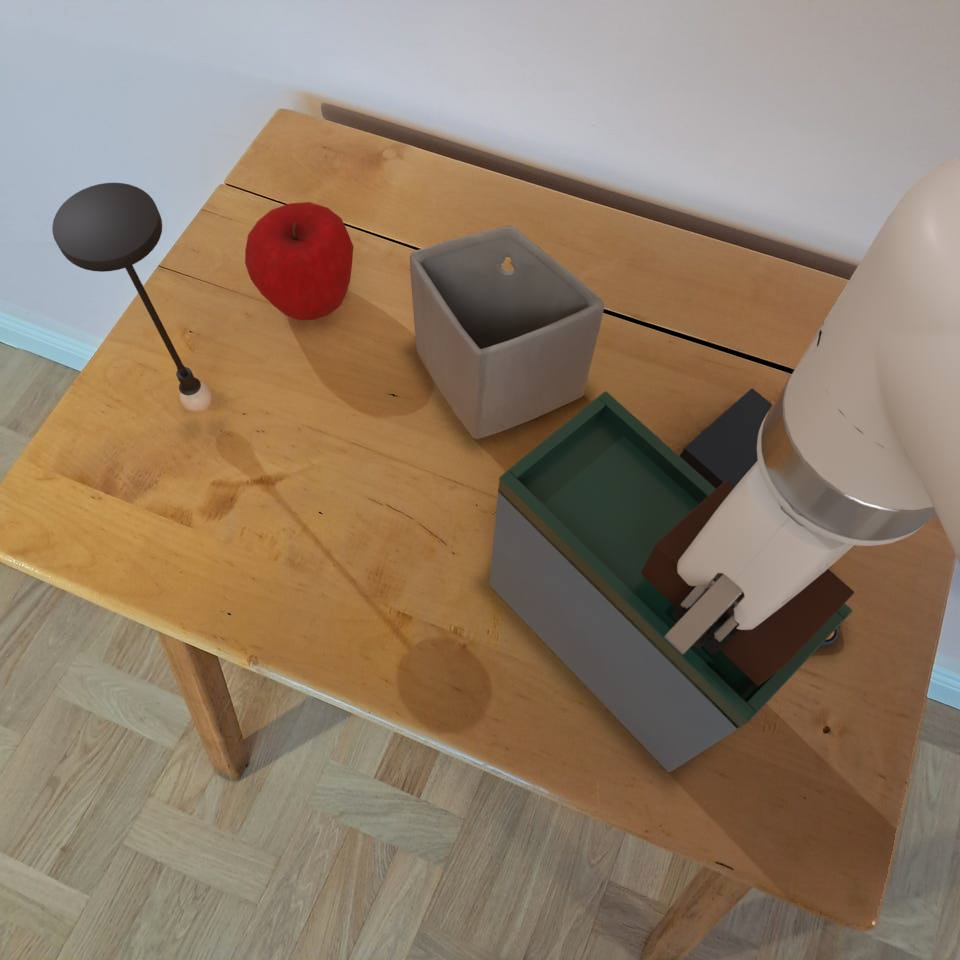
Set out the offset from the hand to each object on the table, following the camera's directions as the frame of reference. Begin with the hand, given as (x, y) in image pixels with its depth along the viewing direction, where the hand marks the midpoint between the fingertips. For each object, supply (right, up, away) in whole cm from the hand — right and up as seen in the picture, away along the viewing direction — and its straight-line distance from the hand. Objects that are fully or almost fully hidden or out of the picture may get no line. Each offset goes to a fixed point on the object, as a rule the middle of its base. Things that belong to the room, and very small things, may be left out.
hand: (734, 593), depth 50 cm
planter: (-14, +13, +30) cm, 36 cm away
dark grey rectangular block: (+8, +8, +28) cm, 30 cm away
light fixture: (-40, +12, +29) cm, 50 cm away
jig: (-3, +2, +4) cm, 6 cm away
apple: (-31, +24, +35) cm, 52 cm away
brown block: (0, 0, +1) cm, 1 cm away
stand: (-4, -6, +20) cm, 22 cm away
